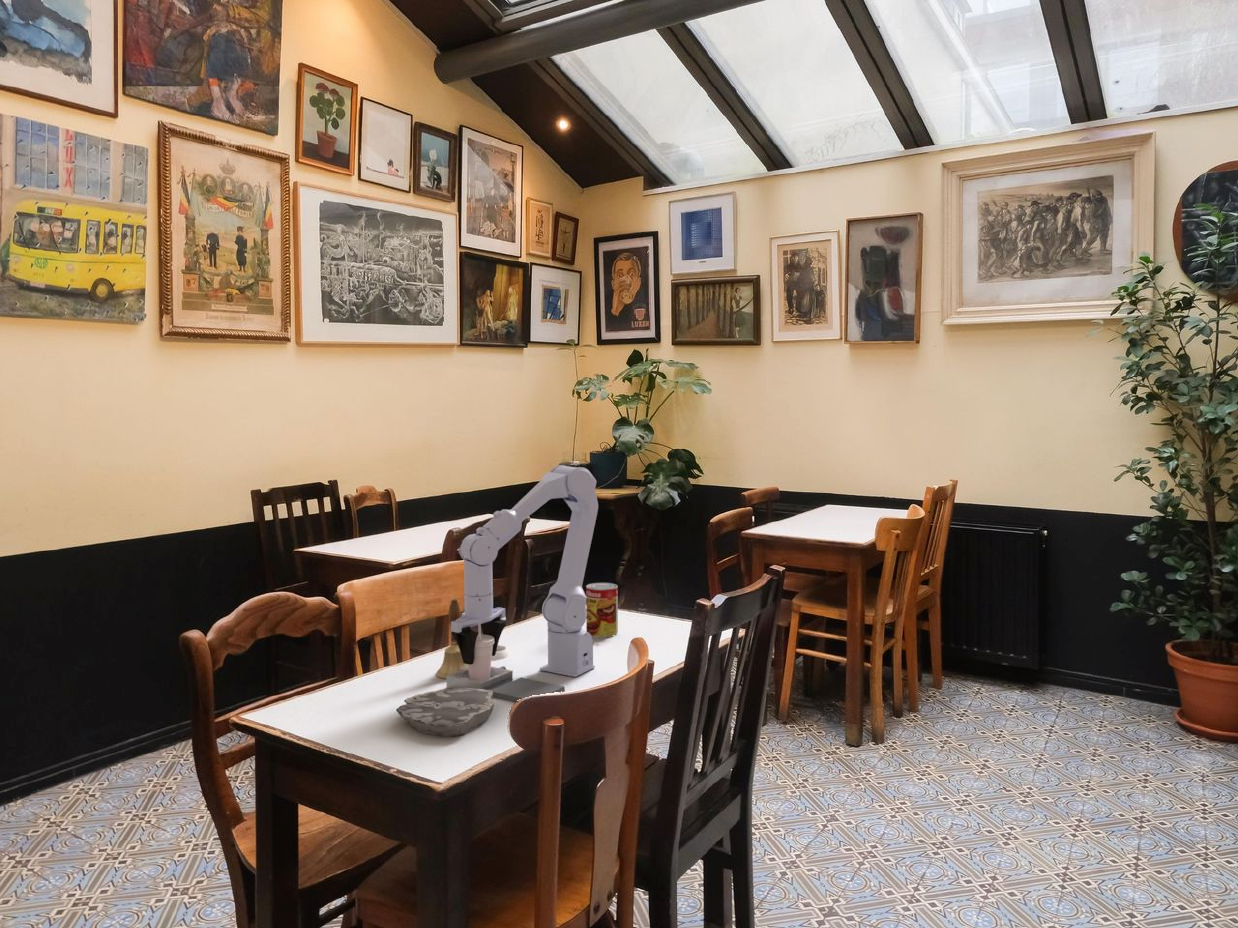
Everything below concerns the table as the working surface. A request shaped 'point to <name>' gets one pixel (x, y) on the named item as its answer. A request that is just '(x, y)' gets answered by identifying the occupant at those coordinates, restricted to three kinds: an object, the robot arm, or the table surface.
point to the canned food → (602, 609)
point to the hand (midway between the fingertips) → (479, 659)
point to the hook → (501, 650)
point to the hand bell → (452, 648)
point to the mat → (525, 689)
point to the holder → (463, 681)
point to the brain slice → (448, 710)
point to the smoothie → (481, 657)
